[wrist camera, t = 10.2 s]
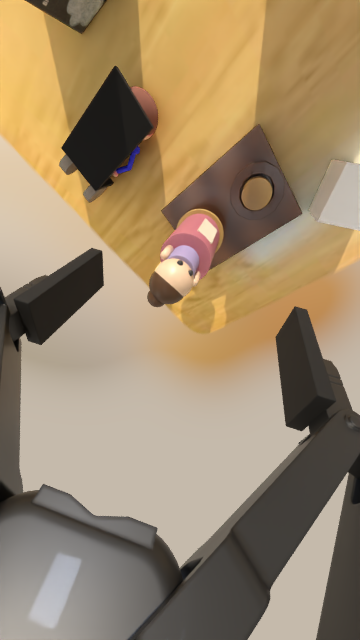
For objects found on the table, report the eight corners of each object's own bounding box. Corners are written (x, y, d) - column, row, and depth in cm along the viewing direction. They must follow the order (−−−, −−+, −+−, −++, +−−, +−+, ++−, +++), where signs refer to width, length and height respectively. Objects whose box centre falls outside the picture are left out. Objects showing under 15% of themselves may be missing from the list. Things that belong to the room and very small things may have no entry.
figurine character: (111, 198, 39) (175, 126, 30) (83, 211, 34) (151, 128, 24) (82, 159, 37) (141, 69, 27) (47, 167, 31) (106, 57, 22)
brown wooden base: (258, 124, 28) (259, 122, 25) (300, 210, 32) (304, 216, 30) (164, 208, 37) (157, 213, 34) (207, 267, 41) (204, 276, 38)
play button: (263, 169, 28) (263, 170, 27) (276, 195, 29) (277, 198, 28) (236, 189, 30) (236, 191, 29) (250, 213, 31) (250, 216, 30)
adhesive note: (307, 210, 32) (316, 221, 27) (331, 159, 28) (346, 161, 24) (352, 219, 31) (369, 232, 27) (383, 168, 28) (409, 172, 23)
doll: (200, 266, 37) (171, 332, 24) (167, 234, 35) (117, 287, 22) (233, 234, 33) (221, 294, 20) (198, 196, 31) (159, 235, 18)
